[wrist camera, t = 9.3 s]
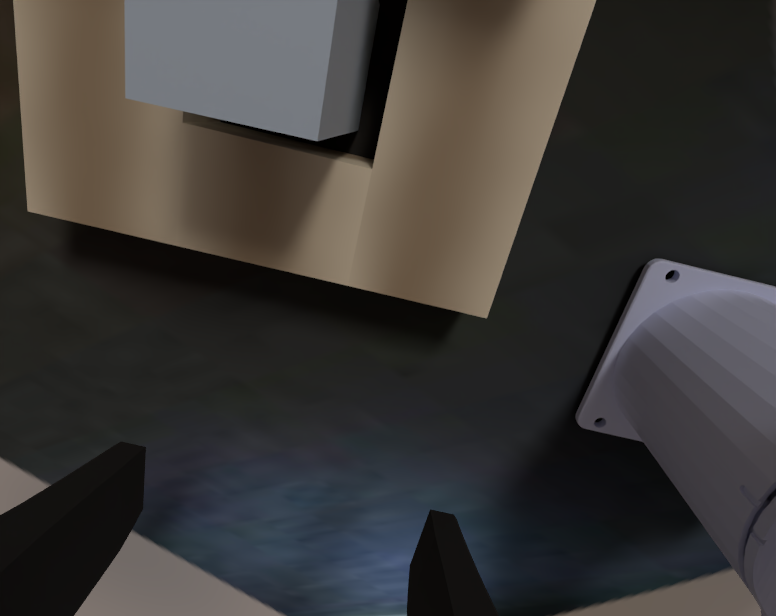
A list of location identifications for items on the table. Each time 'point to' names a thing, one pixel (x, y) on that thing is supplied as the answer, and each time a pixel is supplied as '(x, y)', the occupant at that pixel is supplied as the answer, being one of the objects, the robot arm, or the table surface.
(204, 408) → the table surface
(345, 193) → the socket plate
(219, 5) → the peg
